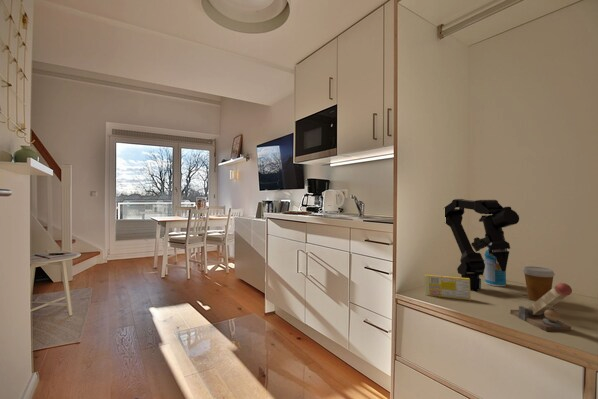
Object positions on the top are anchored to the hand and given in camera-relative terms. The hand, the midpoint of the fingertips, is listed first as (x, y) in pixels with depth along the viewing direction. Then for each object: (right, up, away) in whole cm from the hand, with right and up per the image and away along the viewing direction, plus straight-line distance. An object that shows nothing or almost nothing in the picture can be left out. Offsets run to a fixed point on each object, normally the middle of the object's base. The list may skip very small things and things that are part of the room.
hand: (503, 271), depth 107 cm
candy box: (-17, -13, +8) cm, 23 cm away
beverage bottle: (+14, -12, +25) cm, 31 cm away
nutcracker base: (0, -12, -16) cm, 20 cm away
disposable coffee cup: (+16, -12, +4) cm, 20 cm away
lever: (-1, -10, -14) cm, 17 cm away
